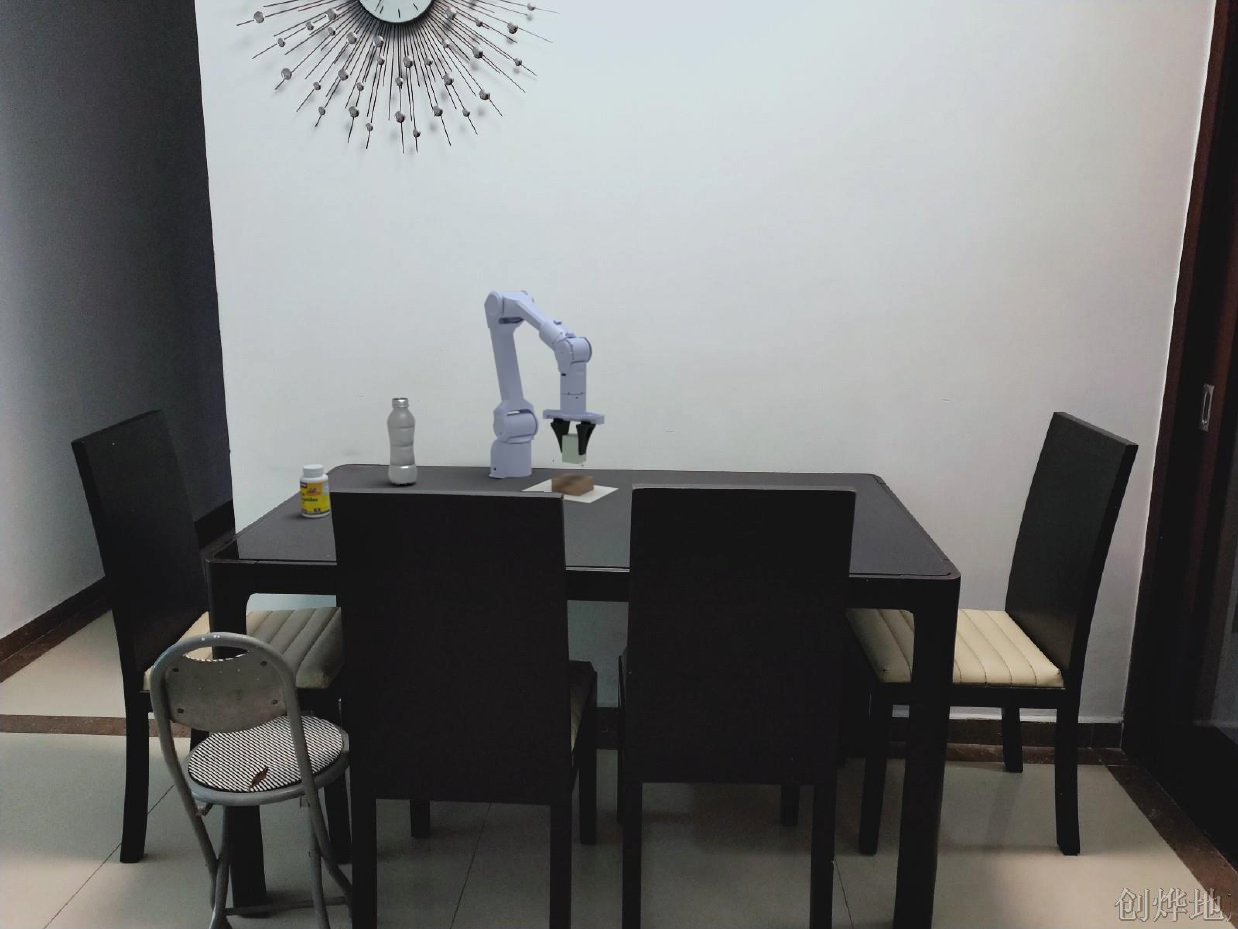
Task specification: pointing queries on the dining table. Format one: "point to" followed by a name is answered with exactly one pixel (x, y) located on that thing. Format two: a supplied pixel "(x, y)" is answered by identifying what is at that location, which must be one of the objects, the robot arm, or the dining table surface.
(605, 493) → the plate
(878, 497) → the dining table surface
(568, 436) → the sage block
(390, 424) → the plastic bottle
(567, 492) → the walnut base
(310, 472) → the supplement bottle
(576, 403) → the robot arm
